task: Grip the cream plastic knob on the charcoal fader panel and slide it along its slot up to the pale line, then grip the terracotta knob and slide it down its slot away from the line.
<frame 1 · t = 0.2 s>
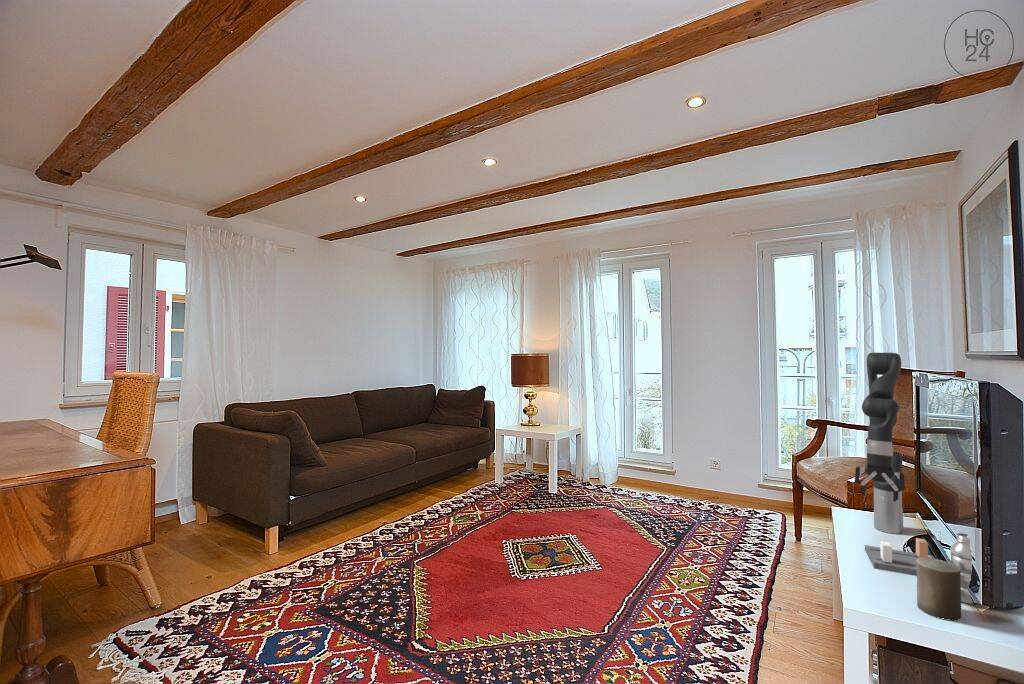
hand: (879, 498, 169), 22 cm above the table, tool pointing down, fingers open, 8 cm apart
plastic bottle: (965, 601, 142), on the table
cream fader: (886, 551, 164), point 5 cm above the table, slide at -6.0 cm
fader panel: (904, 564, 166), on the table
pillar candle: (938, 611, 137), on the table
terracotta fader: (921, 548, 167), point 5 cm above the table, slide at 6.0 cm
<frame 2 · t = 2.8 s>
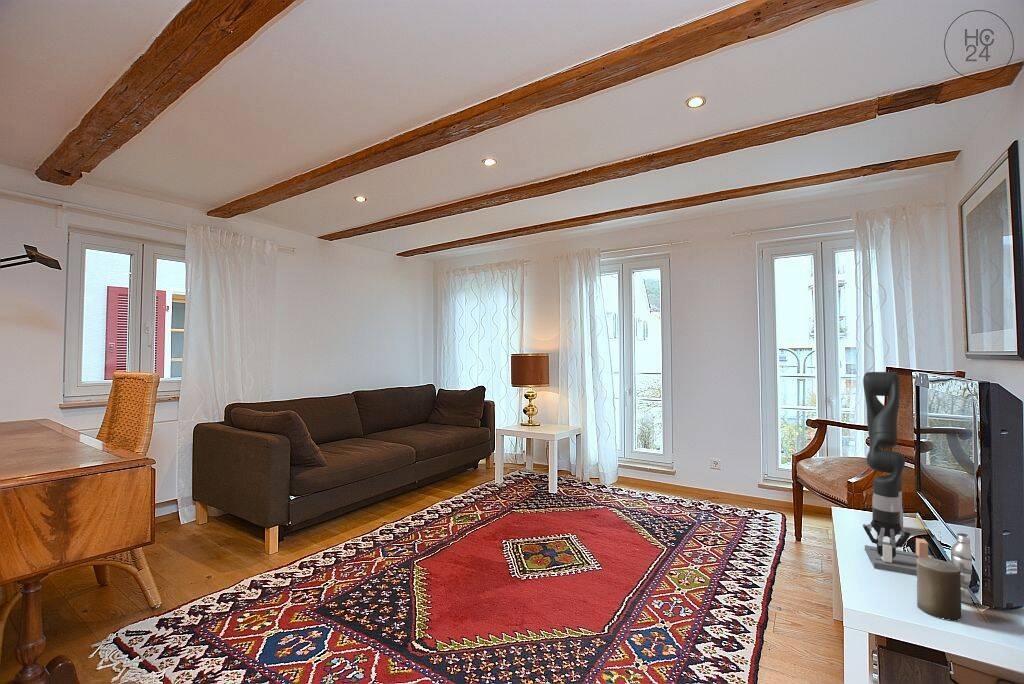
hand: (886, 556, 164), 4 cm above the table, tool pointing down, fingers closed on cream fader, 2 cm apart
cream fader: (886, 551, 164), point 5 cm above the table, slide at -6.0 cm, touching gripper
everything else where it was.
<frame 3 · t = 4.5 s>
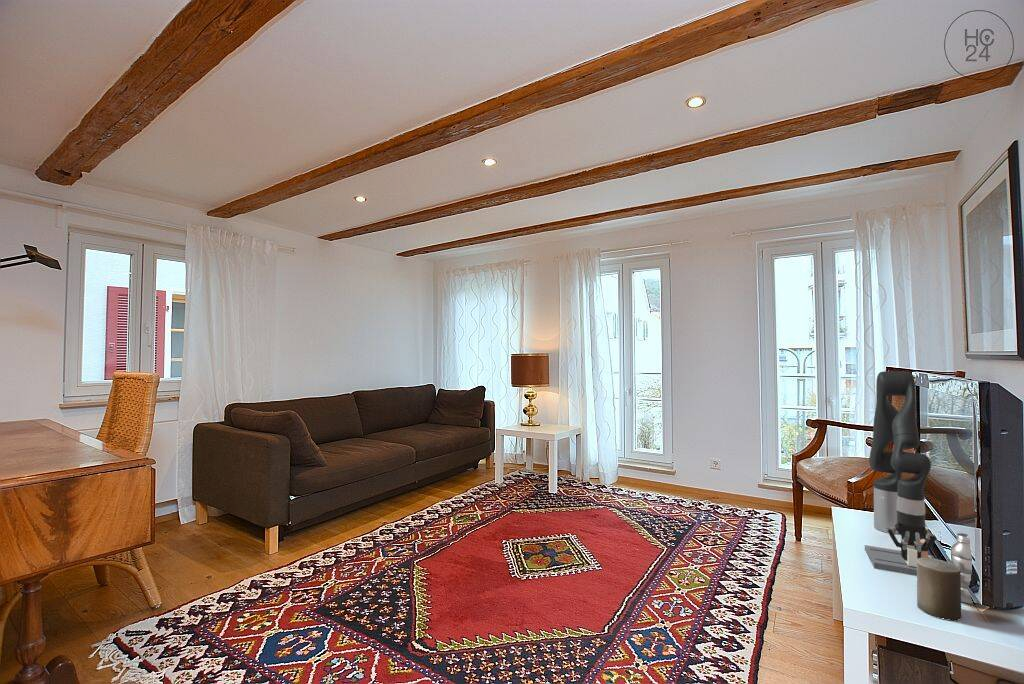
hand: (910, 560, 161), 4 cm above the table, tool pointing down, fingers closed on cream fader, 2 cm apart
cream fader: (910, 555, 161), point 5 cm above the table, slide at 0.8 cm, touching gripper
everything else where it was.
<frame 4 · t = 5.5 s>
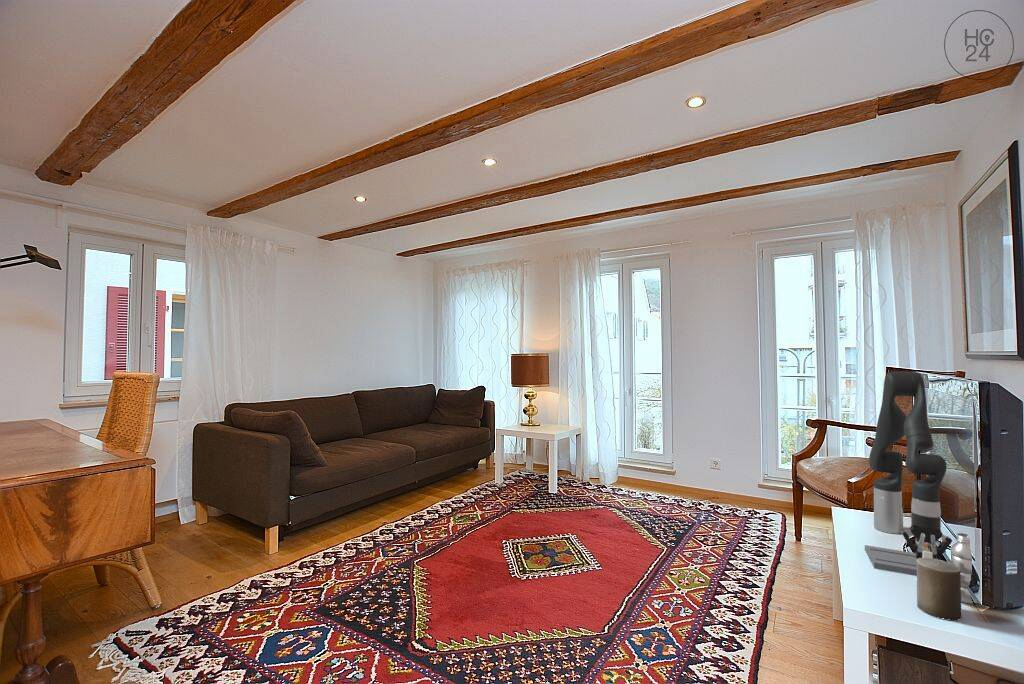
hand: (925, 562, 159), 4 cm above the table, tool pointing down, fingers closed on cream fader, 2 cm apart
cream fader: (926, 558, 159), point 5 cm above the table, slide at 4.9 cm, touching gripper
everything else where it was.
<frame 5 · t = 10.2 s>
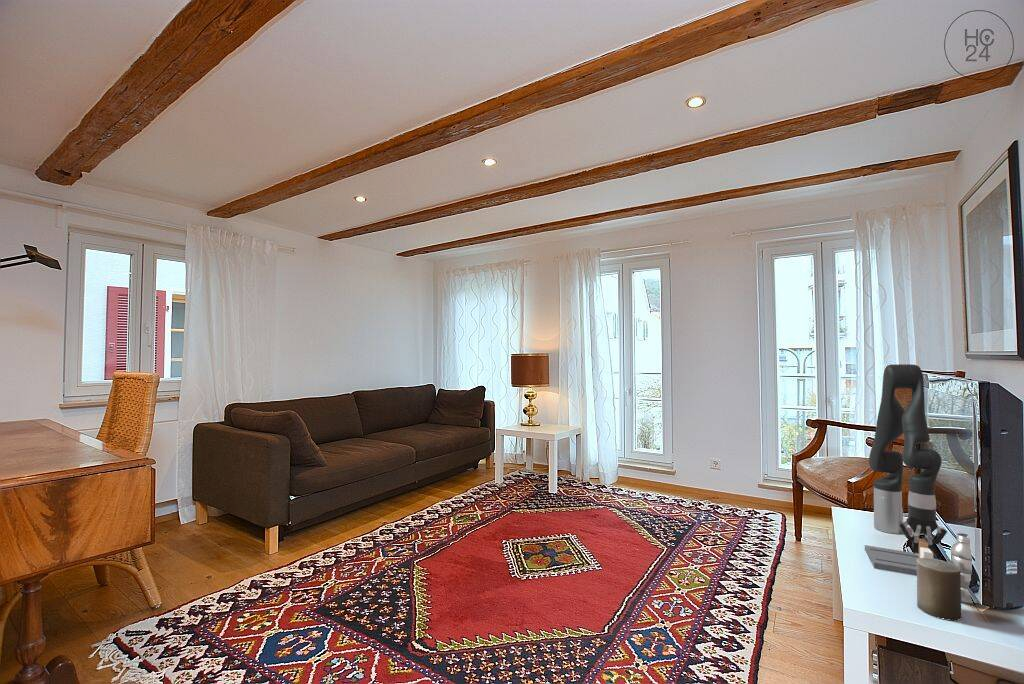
hand: (922, 553, 167), 4 cm above the table, tool pointing down, fingers closed on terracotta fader, 2 cm apart
cream fader: (926, 558, 159), point 5 cm above the table, slide at 5.0 cm
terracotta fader: (922, 548, 167), point 5 cm above the table, slide at 6.1 cm, touching gripper
everything else where it was.
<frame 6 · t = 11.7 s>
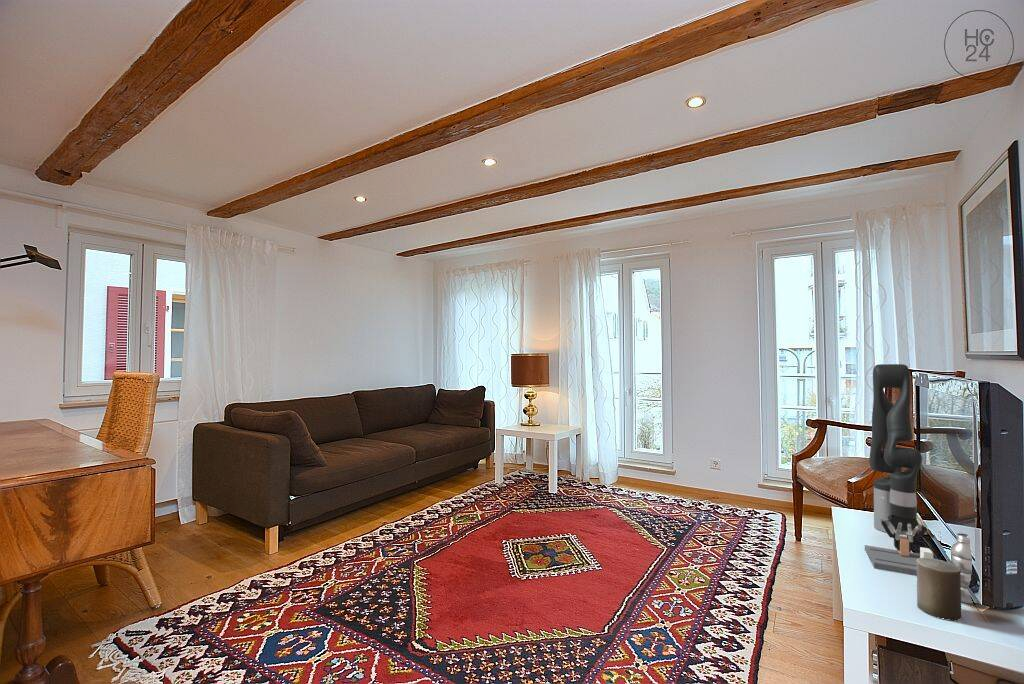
hand: (903, 550, 169), 4 cm above the table, tool pointing down, fingers closed on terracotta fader, 2 cm apart
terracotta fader: (903, 545, 169), point 5 cm above the table, slide at 0.7 cm, touching gripper
everything else where it was.
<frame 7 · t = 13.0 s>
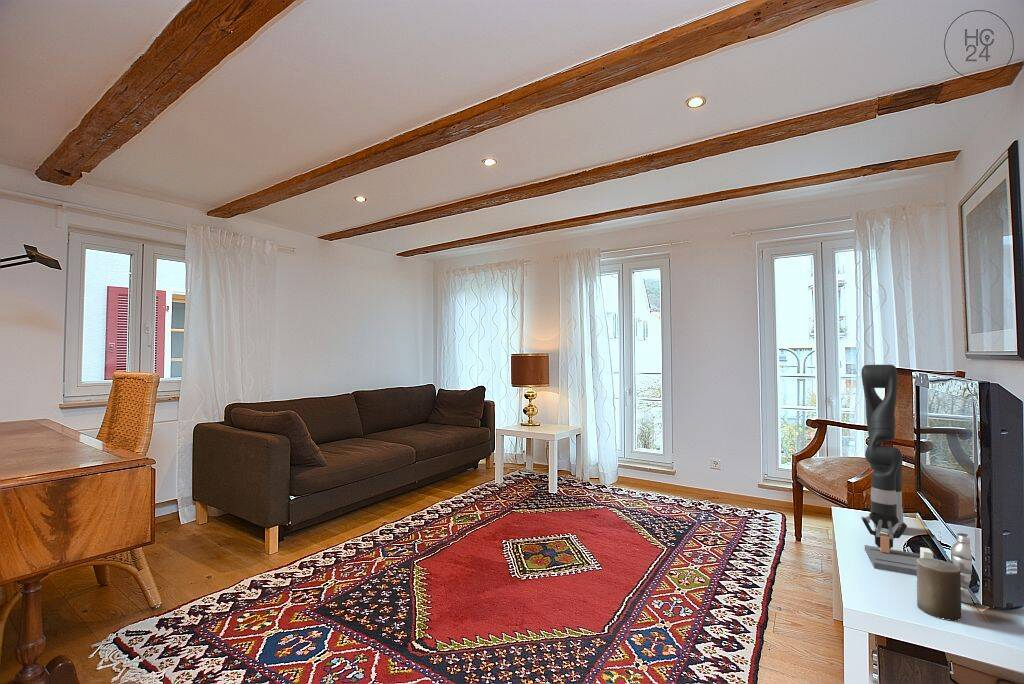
hand: (883, 547, 172), 4 cm above the table, tool pointing down, fingers closed on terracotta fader, 2 cm apart
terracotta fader: (883, 542, 172), point 5 cm above the table, slide at -4.9 cm, touching gripper
everything else where it was.
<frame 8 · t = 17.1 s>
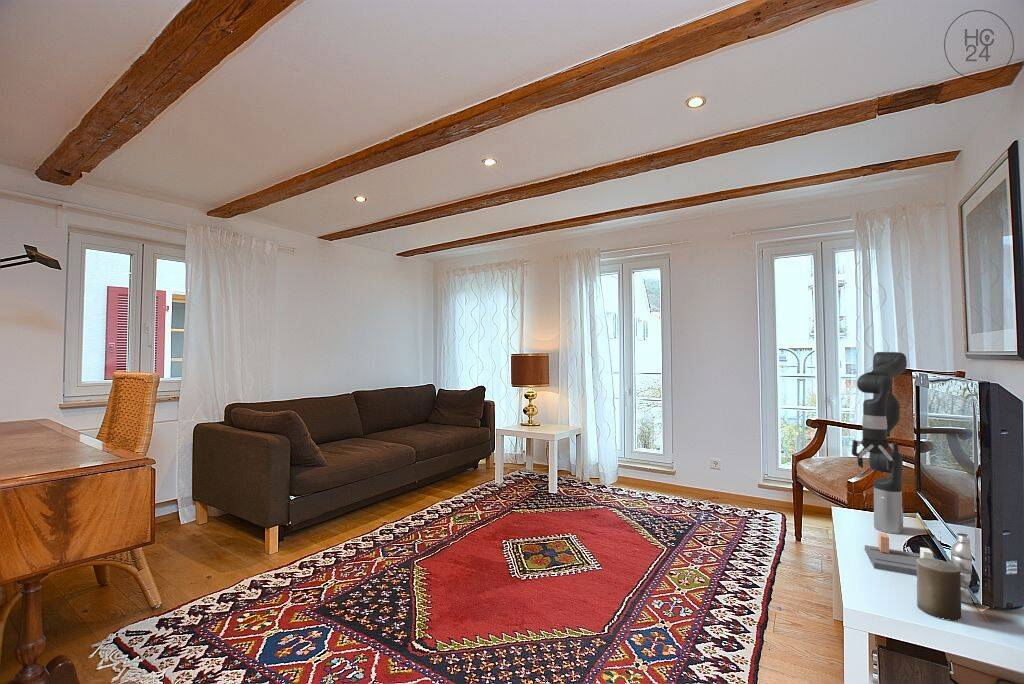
hand: (874, 468, 181), 30 cm above the table, tool pointing down, fingers open, 8 cm apart
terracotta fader: (883, 542, 172), point 5 cm above the table, slide at -4.9 cm
everything else where it was.
at the end: cream fader slide at 5.0 cm; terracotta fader slide at -4.9 cm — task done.
